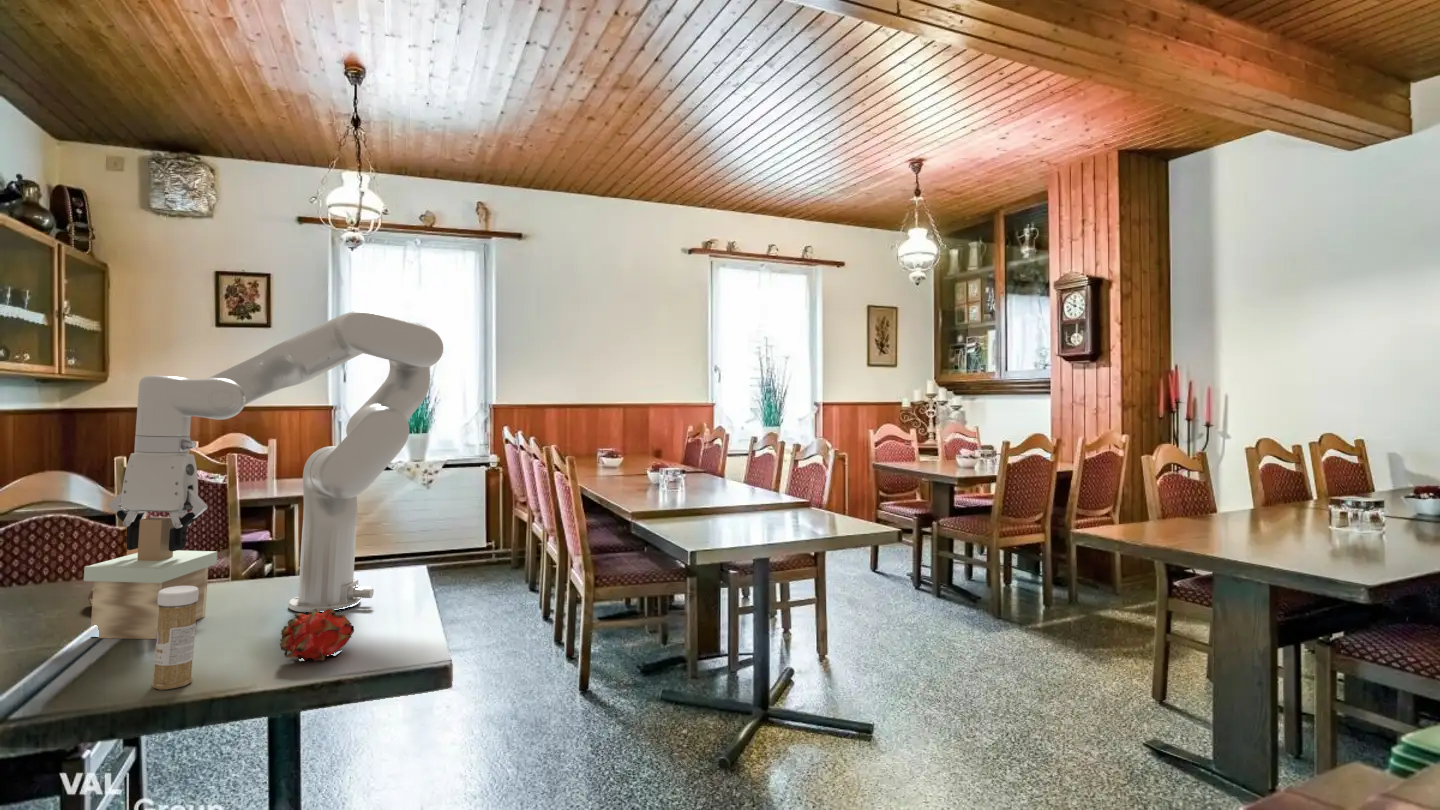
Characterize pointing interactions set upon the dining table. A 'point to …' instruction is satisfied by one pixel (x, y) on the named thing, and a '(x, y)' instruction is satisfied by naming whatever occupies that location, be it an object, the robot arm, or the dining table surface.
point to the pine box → (138, 605)
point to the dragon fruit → (315, 634)
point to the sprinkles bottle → (175, 636)
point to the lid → (151, 558)
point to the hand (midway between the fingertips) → (155, 548)
